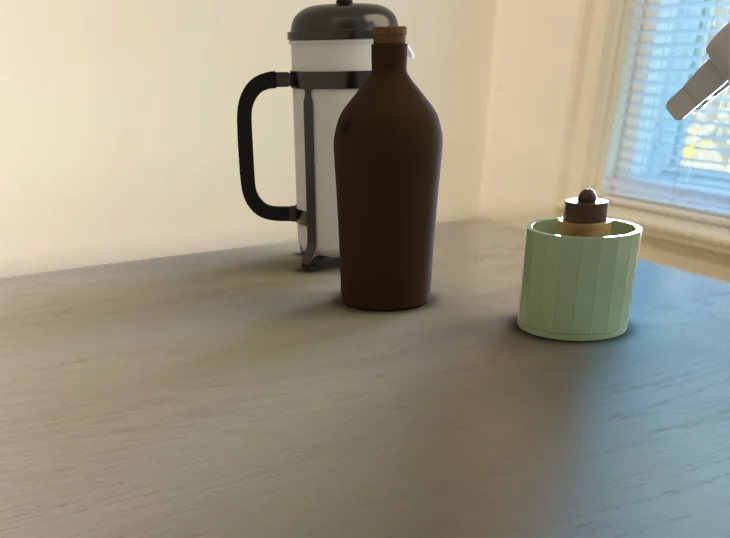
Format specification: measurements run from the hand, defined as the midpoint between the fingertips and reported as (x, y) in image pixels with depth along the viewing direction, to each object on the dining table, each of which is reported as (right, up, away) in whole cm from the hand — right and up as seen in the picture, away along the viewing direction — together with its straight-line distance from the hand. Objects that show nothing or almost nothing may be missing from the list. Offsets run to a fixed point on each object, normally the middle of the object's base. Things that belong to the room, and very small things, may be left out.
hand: (682, 108), depth 72 cm
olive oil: (-23, -10, +22) cm, 33 cm away
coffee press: (-28, -1, +38) cm, 47 cm away
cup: (-6, -15, +12) cm, 20 cm away
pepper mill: (-6, -14, +12) cm, 19 cm away
